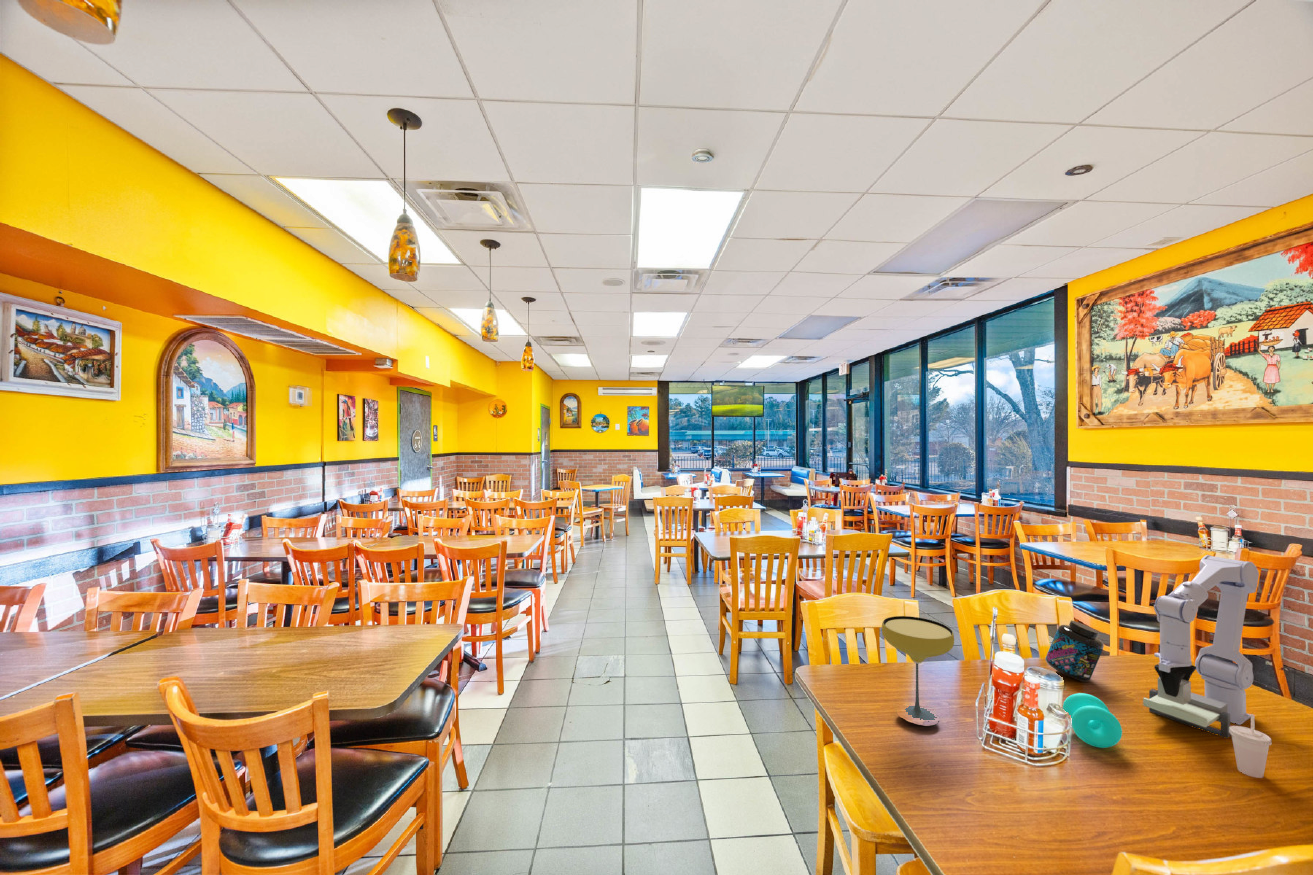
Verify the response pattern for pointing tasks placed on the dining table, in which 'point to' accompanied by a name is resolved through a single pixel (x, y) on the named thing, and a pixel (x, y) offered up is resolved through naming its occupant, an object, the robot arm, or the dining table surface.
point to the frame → (1224, 724)
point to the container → (1075, 650)
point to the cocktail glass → (918, 646)
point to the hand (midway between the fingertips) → (1175, 692)
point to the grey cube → (1183, 693)
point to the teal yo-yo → (1093, 720)
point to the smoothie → (1250, 749)
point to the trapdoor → (1190, 709)
